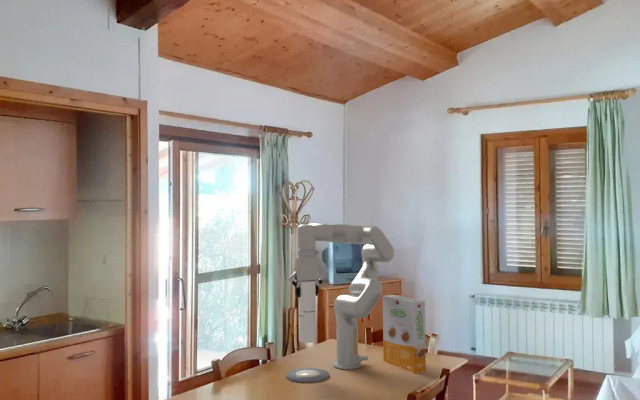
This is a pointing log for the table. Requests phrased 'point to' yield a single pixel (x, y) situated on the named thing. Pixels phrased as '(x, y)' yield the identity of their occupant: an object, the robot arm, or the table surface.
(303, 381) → the plate
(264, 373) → the table surface
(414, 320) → the cereal box
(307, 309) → the cylindrical container
